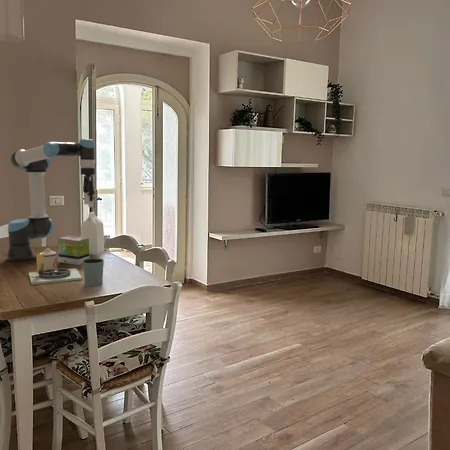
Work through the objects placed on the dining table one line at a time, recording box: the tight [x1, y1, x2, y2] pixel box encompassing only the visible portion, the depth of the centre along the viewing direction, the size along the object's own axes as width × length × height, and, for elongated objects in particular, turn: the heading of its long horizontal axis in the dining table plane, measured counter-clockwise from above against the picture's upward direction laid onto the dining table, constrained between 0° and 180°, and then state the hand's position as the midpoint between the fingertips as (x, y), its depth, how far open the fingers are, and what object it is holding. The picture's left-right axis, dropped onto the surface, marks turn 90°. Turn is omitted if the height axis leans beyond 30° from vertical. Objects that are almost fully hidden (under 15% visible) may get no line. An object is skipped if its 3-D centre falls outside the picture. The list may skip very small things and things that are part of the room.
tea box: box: [57, 235, 90, 266], centre depth 275 cm, size 15×10×15 cm, turn 68°
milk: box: [80, 211, 106, 256], centre depth 301 cm, size 12×12×26 cm
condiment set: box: [40, 248, 58, 270], centre depth 260 cm, size 12×9×12 cm
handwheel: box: [35, 252, 71, 278], centre depth 243 cm, size 16×15×11 cm
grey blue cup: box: [82, 257, 105, 287], centre depth 232 cm, size 10×10×12 cm
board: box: [28, 268, 83, 285], centre depth 244 cm, size 20×24×1 cm
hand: (88, 205), depth 263 cm, fingers open, 13 cm apart
